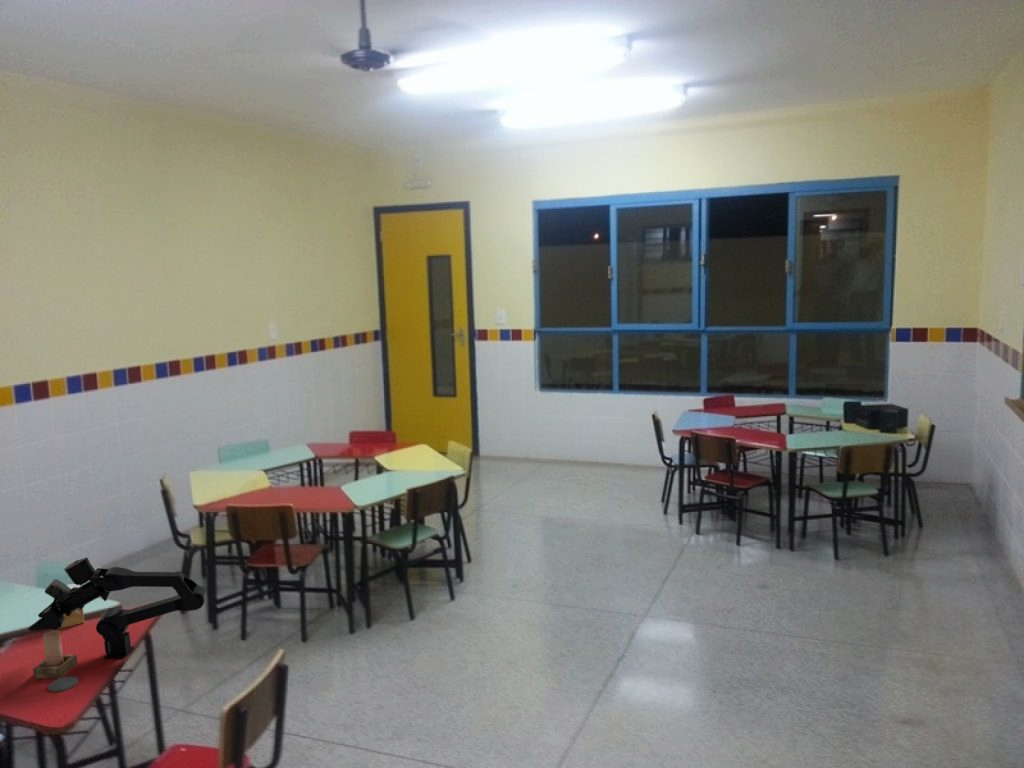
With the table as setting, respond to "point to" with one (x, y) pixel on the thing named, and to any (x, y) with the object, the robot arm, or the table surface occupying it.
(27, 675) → the table surface
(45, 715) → the table surface
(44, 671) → the walnut socket
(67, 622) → the small box
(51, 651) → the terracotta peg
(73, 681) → the charcoal coaster
